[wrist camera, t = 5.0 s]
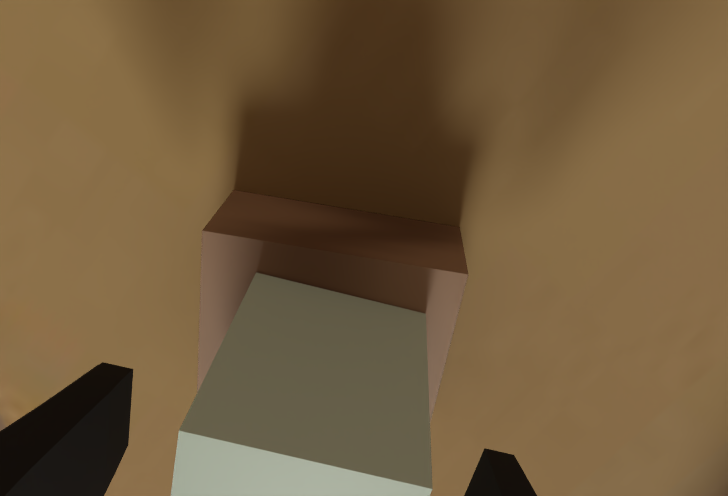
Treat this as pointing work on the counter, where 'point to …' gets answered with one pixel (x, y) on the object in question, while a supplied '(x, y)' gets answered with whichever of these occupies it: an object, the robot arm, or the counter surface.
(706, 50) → the counter surface
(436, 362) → the walnut slab
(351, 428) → the green block
